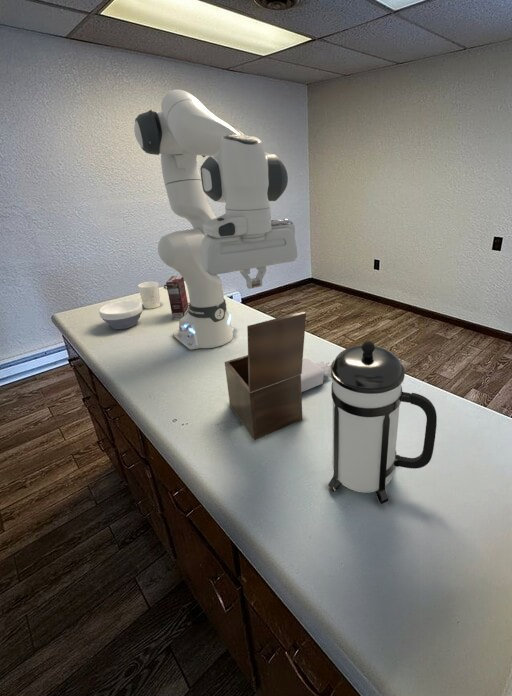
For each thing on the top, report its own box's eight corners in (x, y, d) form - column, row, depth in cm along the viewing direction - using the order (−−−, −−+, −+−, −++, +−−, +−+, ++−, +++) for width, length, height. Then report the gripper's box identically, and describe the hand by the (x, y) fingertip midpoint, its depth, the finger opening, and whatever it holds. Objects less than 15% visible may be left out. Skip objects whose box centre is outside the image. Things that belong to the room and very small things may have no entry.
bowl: (133, 314, 149) (129, 297, 146) (152, 322, 141) (149, 304, 139) (96, 326, 138) (91, 308, 136) (115, 336, 130) (110, 317, 128)
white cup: (138, 308, 155) (133, 286, 151) (149, 302, 162) (145, 281, 159) (155, 309, 154) (150, 287, 150) (165, 303, 161) (161, 281, 157)
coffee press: (348, 526, 62) (352, 377, 51) (314, 460, 75) (311, 331, 64) (430, 491, 68) (449, 352, 57) (384, 437, 82) (393, 316, 71)
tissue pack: (340, 378, 104) (295, 396, 96) (321, 364, 111) (279, 380, 103) (340, 363, 103) (295, 381, 94) (321, 351, 109) (278, 366, 101)
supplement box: (177, 311, 152) (171, 275, 146) (189, 311, 152) (184, 275, 146) (172, 320, 144) (165, 282, 138) (184, 319, 144) (178, 281, 138)
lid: (247, 325, 68) (248, 327, 68) (304, 311, 75) (306, 313, 74) (248, 390, 76) (250, 392, 76) (299, 371, 83) (301, 374, 82)
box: (229, 404, 93) (224, 361, 88) (273, 388, 100) (270, 347, 95) (254, 440, 81) (249, 393, 76) (302, 419, 88) (300, 374, 83)
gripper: (287, 216, 81) (289, 275, 86) (194, 225, 70) (203, 292, 75) (301, 219, 76) (303, 282, 81) (204, 229, 65) (213, 301, 70)
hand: (254, 287), depth 78 cm, fingers closed
